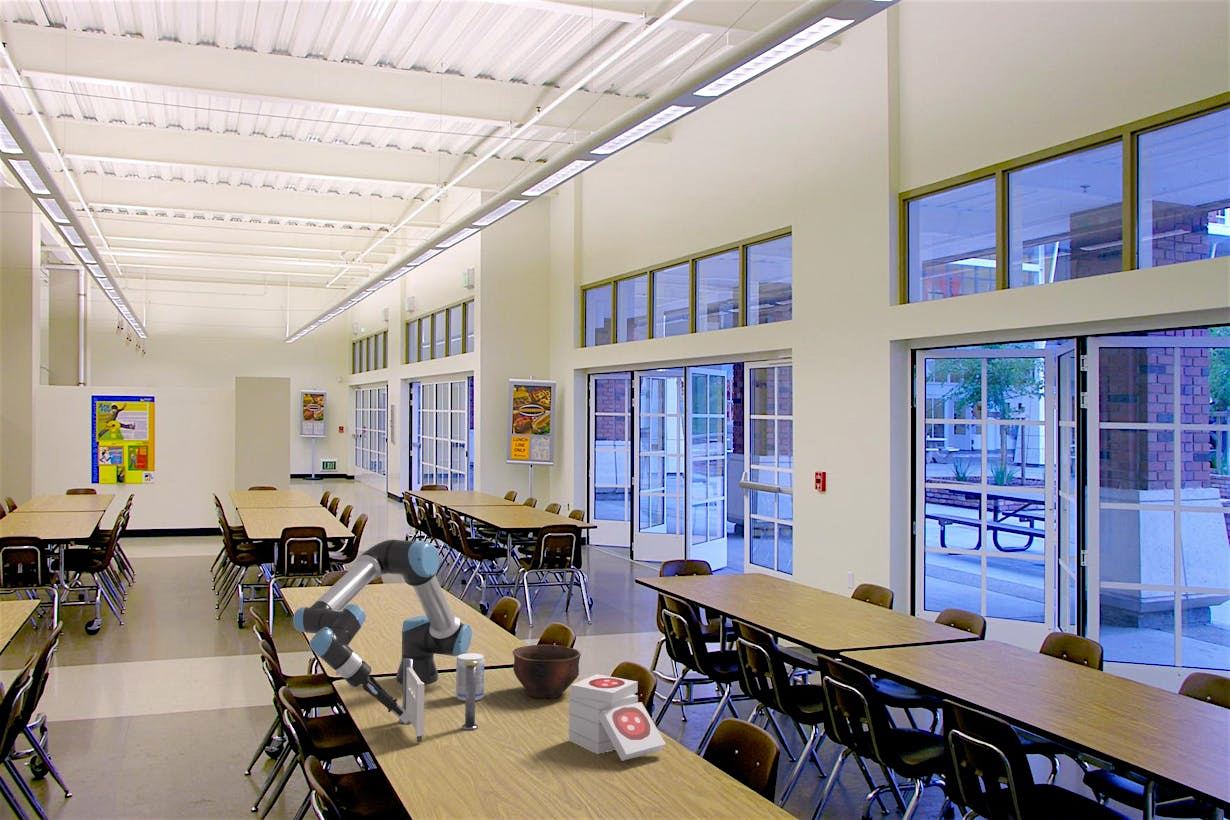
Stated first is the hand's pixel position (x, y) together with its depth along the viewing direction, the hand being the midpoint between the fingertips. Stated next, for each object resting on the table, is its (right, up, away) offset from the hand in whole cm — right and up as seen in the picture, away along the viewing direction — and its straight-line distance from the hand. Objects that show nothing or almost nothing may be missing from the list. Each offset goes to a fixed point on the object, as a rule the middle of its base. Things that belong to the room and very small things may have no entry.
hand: (408, 719), depth 291 cm
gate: (+1, -5, +2) cm, 5 cm away
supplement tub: (+13, -6, +41) cm, 43 cm away
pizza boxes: (+63, -6, -7) cm, 64 cm away
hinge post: (-3, -5, +14) cm, 15 cm away
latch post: (+18, -5, +9) cm, 20 cm away
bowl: (+39, -6, +48) cm, 62 cm away
